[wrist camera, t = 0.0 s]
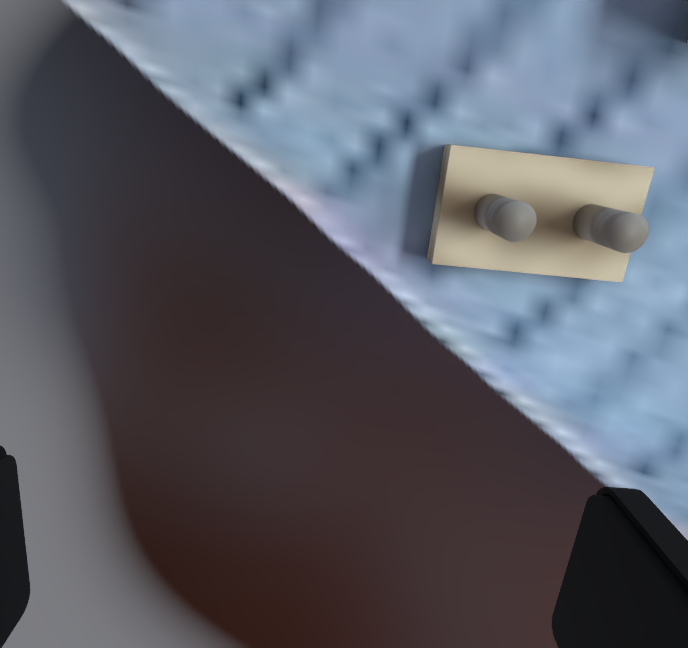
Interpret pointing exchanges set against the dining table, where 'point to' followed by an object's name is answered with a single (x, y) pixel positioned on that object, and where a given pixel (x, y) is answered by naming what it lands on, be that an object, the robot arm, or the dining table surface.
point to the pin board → (538, 213)
